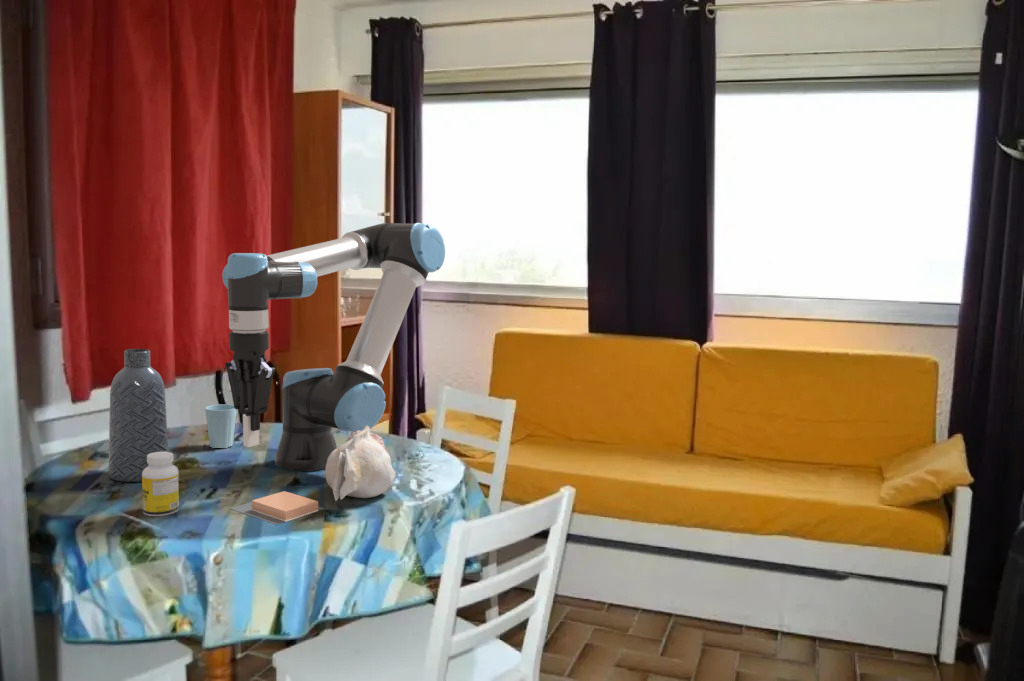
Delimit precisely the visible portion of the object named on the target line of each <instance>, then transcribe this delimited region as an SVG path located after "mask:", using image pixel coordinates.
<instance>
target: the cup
mask: <svg viewBox="0 0 1024 681" xmlns="http://www.w3.org/2000/svg"><path fill="white" fill-rule="evenodd" d="M204 410H205V417H206V426H207V435H208V442H209V447H212V448H227V447H230V446H232V445H234V438H235V437H234V436H235V435H234V434H235V427H236V426H235V425H236V421H237V420H236V419H237V410H238V409H235V408H234V404H221V403H220V404H211V405H208V406H206V407H205V408H204ZM232 447H233V446H232ZM212 448H211V449H212ZM227 449H228V448H227Z"/></svg>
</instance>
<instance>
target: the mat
mask: <svg viewBox="0 0 1024 681" xmlns="http://www.w3.org/2000/svg"><path fill="white" fill-rule="evenodd" d="M325 509H326V508H325V507H323V506H319V505H318V511H319V512H320V511H322V510H325ZM229 510H232V511H235V512H238V513H242V514H244V515H246V516H247V515H248V516H250V517H252V518H255V519H259V520H262V521H265V522H267V523H271V524H273V525H277V526H278V525H280V524H283V523H286V522H285V521H282V520H279V519H276V518H273V517H270V516H267V515H264V514H261V513H258V512H255V511H252V501H251V502H247V503H244V504H240V505H237V506H234V507H230V508H229ZM318 511H317V512H318Z"/></svg>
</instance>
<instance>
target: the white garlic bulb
mask: <svg viewBox="0 0 1024 681" xmlns="http://www.w3.org/2000/svg"><path fill="white" fill-rule="evenodd" d="M324 473H325V474H324V475H325V479H326V482H327V484H328V486H329V487H330V488H331V489H332V494H333V496H334V497H333V498H334V500H335V502H337V500H339V499H340V500H343V499H344V498H345V497H346V496H347V497H350V498H351V497H353V498H356V499H369V498H375V497H378V496H380V495H382V494H383V493H385V492H386V491H387V490H389V488H390V487H391V486H392V484H393V482H394V481H395V479H396V476H397V475H396V474H397V473H396V471H395V469H394V468H393V466H392V459H391V456H390V454H389V452H388V451H387V448H386V446H385V442H384V439H383V437H381V436H379V435H378V434H377V433H374V432H371V429H370V428H369V427H368V426H367V425H366V426H365V428H364V430H362V431H360V430H358V431H356V432H350V434H349V436H348V437H347V439H346V440H345V442H344V443H342V444H341V445H340V446H339V447H337V449H335V450H334V451H333V452H331V454H330V455H329V457H328V459H327V464H326V469H325V471H324Z"/></svg>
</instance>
